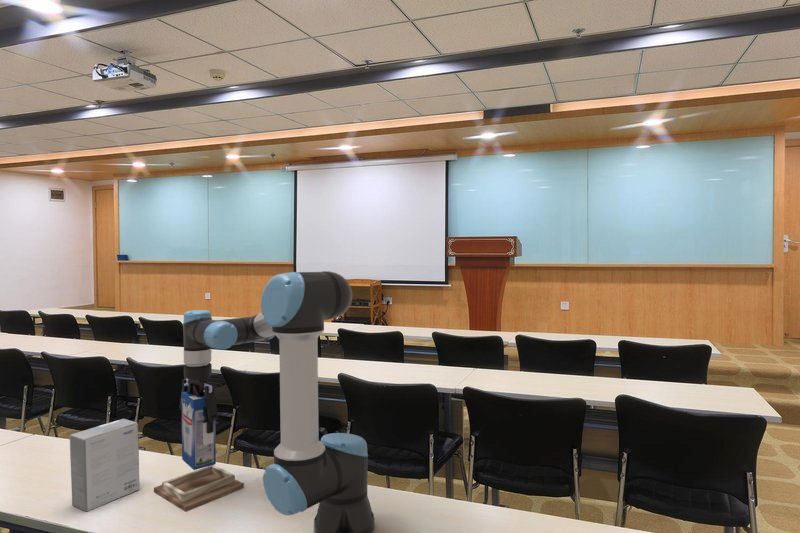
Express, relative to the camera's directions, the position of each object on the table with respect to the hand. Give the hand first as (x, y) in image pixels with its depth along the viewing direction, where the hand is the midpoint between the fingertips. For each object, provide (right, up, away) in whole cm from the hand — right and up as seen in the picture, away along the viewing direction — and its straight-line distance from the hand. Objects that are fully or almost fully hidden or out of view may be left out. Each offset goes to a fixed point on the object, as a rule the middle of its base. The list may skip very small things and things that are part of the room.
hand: (198, 439), depth 148 cm
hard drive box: (-24, -15, -4) cm, 29 cm away
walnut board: (0, -15, 0) cm, 15 cm away
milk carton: (0, -7, 0) cm, 7 cm away
